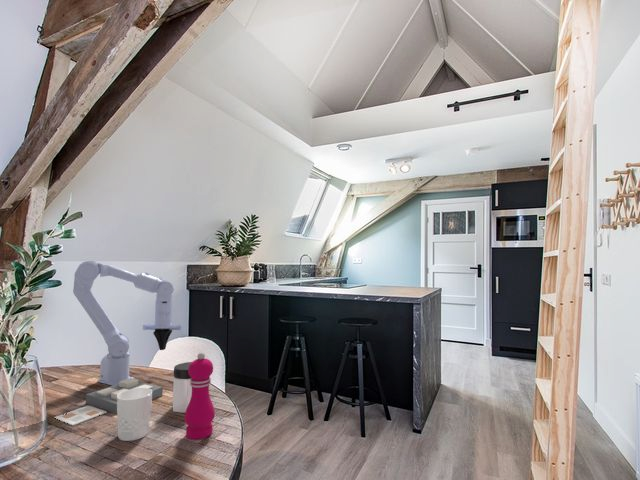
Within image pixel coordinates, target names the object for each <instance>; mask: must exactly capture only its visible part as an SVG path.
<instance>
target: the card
mask: <svg viewBox="0 0 640 480" xmlns="http://www.w3.org/2000/svg"><path fill="white" fill-rule="evenodd" d="M66 413H67V415H65V414H66ZM104 413H105V414H107V413H108V410H105V409H102V408H99V407H96V406H93V405H90V404H87V405H85V406H83V407H82V406H81V407H80V408H76V409H74V410H71V411H68V412H65V413H63V414H64V415H63V414H60V415H57V416H53V419H54V418H56V419H55V420H57V419H58V420H57V421H59V420H60V421H59V422H61V423H64V422H65V424H67V423H68V424H67V425H70V426H76V425H78V424H81V423H84V422H86V421H89V420H91V419H94V417H95V418H97V417H99V415H100V416H103V415H105V414H104Z"/></svg>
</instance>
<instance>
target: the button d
mask: <svg viewBox="0 0 640 480" xmlns="http://www.w3.org/2000/svg"><path fill="white" fill-rule="evenodd" d="M136 388H148V389H153V387H152V386H149V385H145V384H144V385H142V386H139V387H136ZM133 389H135V388H133Z"/></svg>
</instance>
